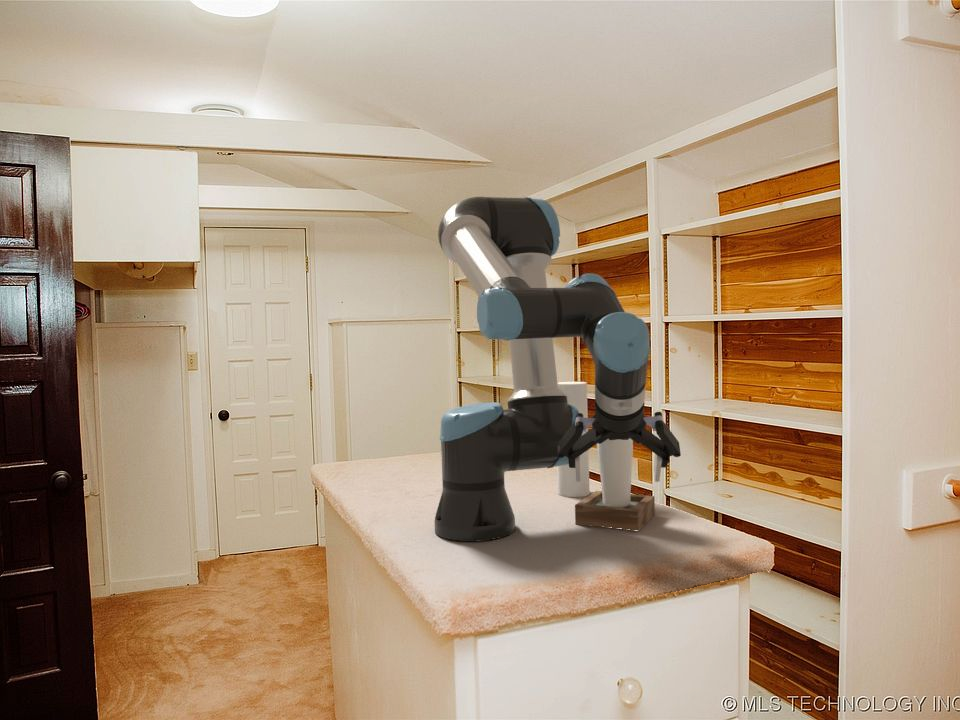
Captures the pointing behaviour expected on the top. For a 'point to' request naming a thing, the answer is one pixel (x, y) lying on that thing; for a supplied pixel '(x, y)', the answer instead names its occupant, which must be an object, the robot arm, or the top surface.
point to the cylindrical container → (568, 475)
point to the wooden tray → (615, 512)
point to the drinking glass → (616, 471)
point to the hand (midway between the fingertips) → (616, 475)
